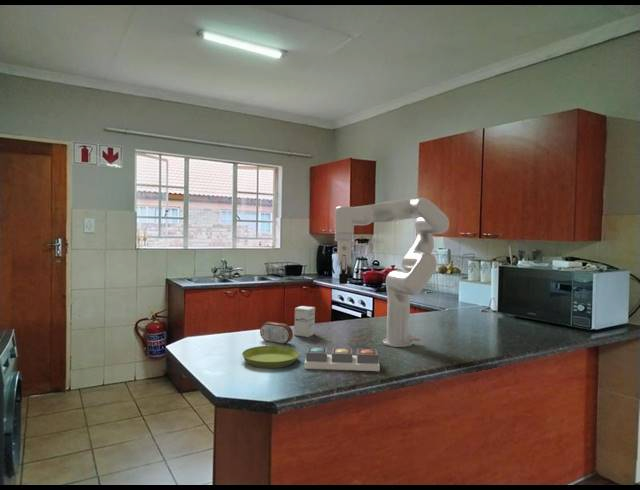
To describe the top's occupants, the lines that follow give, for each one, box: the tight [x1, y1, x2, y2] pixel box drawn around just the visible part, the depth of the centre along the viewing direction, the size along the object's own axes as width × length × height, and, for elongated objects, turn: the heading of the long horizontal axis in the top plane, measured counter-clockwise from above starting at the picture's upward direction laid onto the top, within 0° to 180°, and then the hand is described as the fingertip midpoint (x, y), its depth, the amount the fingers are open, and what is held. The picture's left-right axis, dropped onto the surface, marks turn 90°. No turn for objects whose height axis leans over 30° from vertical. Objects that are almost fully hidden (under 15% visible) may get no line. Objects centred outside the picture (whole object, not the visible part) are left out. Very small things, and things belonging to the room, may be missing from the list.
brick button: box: [360, 350, 374, 354], centre depth 156 cm, size 5×5×3 cm
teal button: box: [310, 347, 324, 353], centre depth 157 cm, size 5×5×3 cm
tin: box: [259, 321, 294, 345], centre depth 186 cm, size 15×3×8 cm, turn 65°
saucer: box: [241, 345, 300, 369], centre depth 160 cm, size 21×21×3 cm
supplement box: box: [293, 305, 316, 338], centre depth 200 cm, size 7×7×13 cm
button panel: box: [303, 346, 381, 372], centre depth 156 cm, size 26×11×5 cm, turn 87°
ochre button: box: [335, 348, 349, 354], centre depth 156 cm, size 5×5×3 cm
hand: (343, 283), depth 173 cm, fingers closed
